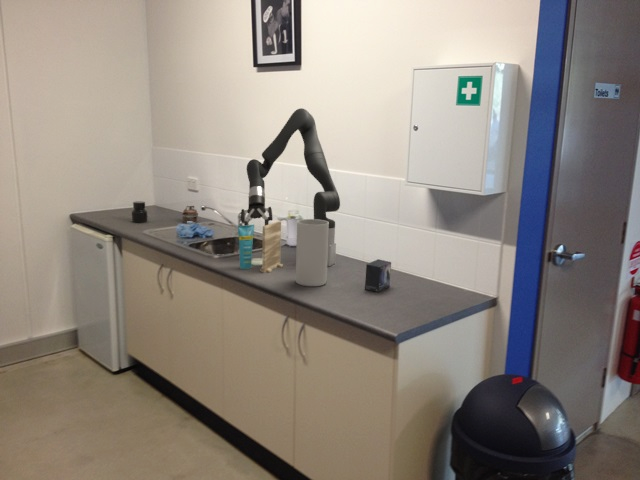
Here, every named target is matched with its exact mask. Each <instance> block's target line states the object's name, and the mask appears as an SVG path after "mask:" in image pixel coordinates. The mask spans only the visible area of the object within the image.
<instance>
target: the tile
mask: <svg viewBox="0 0 640 480" xmlns="http://www.w3.org/2000/svg"><path fill="white" fill-rule="evenodd" d="M251 266H254V267H255V266H256V267H262V257H254V258H252V260H251Z"/></svg>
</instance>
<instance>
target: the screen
mask: <svg viewBox="0 0 640 480" xmlns="http://www.w3.org/2000/svg"><path fill="white" fill-rule="evenodd" d="M281 242H282V221H279V220H278V221H276V222H272V223H268V225H265V224H264V225H262V246H261V247H262V251H261V253H262V257H261V258H262V266H261V267H260V268H259V272H262V273H264V274H265V273H269V274H270V273H272V272H273V271H272V270H273V269H276V268H283V267H284V264H283V263H281V254H282V253H281V251H282V249H281V246H282V245H281V244H282V243H281Z"/></svg>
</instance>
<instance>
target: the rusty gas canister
mask: <svg viewBox="0 0 640 480" xmlns="http://www.w3.org/2000/svg"><path fill="white" fill-rule="evenodd" d="M198 216H199V213H198V211H197V209H196V207H195V206H194V205H187V206H186V205H185V208H184V209H183V211H182V214H181V218H182V221H183V223H184V224H187V223H186V222H187V221H193V222H196V223H197V222H198Z"/></svg>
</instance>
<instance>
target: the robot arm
mask: <svg viewBox="0 0 640 480" xmlns="http://www.w3.org/2000/svg"><path fill="white" fill-rule="evenodd" d="M297 131H298V132H299V134H300V135H301V138H302V140H303V144H304V145H303V157H304V161H305V165H306V168H307V170H308V172H309V173H310V175H311V176H312V177H313V178H314V179H315V180H316V181H317V182H318V183H319V184H320V185H321V187H322V189H323V191H318V192H316V193H315V194H314V196H313V219H318V220H325V221H328V222H329V229H328V255H327V267H331V266H333V265H335V264H336V253H337V252H336V251H337V243H335V240H336V239H335V238H336V237H335V234H336V230H335V229H336V221H335V220H334V219H330V218H328V217H327V213H333V212H337V211H338V210H339V209H340V207H341V200H340V195H339V193H338V190H337V188H336V186H335V183H334V180H333V178H332V176H331V172H330V169H329V166H328V163H327V159H326V156H325V153H324V149H323V148H322V145H321V142H320V140H319V136H318V130H317V125H316V122H315V118H314V117H313V115H312V114H311V113H310V112H309V111H308V110H306V109H305V108H301V107H300V108H297V109H296V110H294V112H293V113H292V114H291V115H290V117H289V118H288V120H287V121H286V123H285V124H284V125H283V127H282V128H281V130H280V132H279V133H278V134H277V136H276V137H275V138H274V139H273V141H271V142H270V143H269V145H268V146H267V147H266V148H265V150H263V151H262V153H261V157H262V159H263V161H262V162H260V161H259V159H256V158H255V159H254V158H253V159H251V160H249V161H248V163H247V165H246V174H247V178H248V182H249V185H248V186H249V190H248V191H249V192H248V207H247V209H243V208H242V209H241V211H240V221H241V223H242V224H244V226H245V225H250V224H249V223H250V222H251V221H252V220H253V219H263V220H264V226H265V225H269V222H271V221H273V218H274V217H273V210H272V209H273V208H272V206H268V207H267V208H266V193H265V180H264V179H265V178H266V177H267V175H268V174H269V172H270V170H271V169H272V168H273V167H272V166H273V165H274V163H275V162H276V161H277V159H278V158H279V157H281V155H282V154H283V152H284V151H285V150H286V148H287V146H288V144H289V141H290V139H291V138H292V136H293V135H294V134H295V133H296V132H297ZM266 212H267V213H268V216H267V215H266V214H265V213H266Z"/></svg>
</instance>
